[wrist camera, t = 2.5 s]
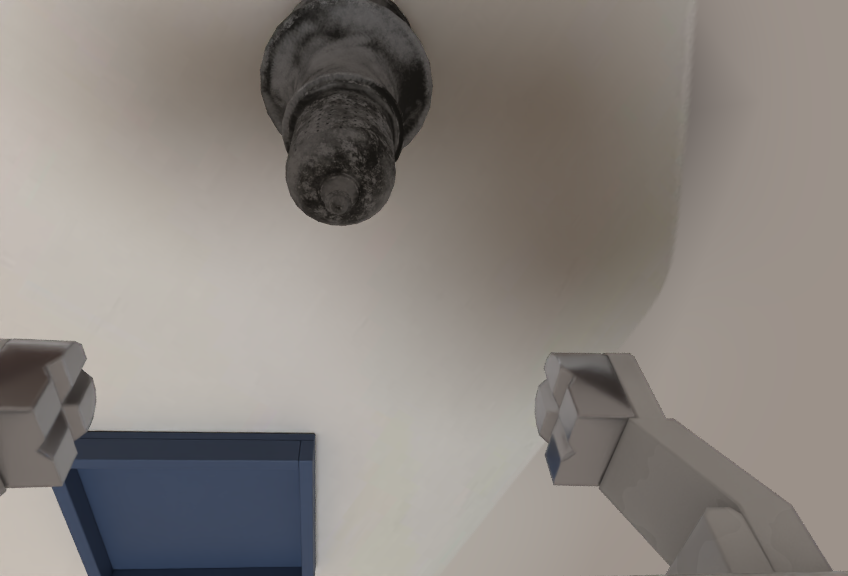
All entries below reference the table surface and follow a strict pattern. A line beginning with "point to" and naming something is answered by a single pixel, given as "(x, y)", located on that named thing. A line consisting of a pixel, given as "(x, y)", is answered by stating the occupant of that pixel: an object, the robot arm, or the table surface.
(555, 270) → the table surface
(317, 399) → the table surface
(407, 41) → the black chess piece
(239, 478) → the tray
